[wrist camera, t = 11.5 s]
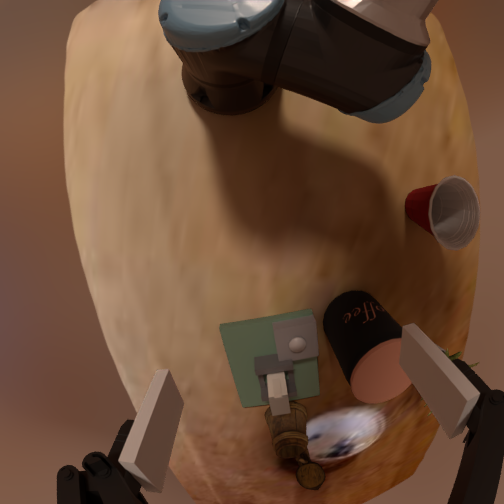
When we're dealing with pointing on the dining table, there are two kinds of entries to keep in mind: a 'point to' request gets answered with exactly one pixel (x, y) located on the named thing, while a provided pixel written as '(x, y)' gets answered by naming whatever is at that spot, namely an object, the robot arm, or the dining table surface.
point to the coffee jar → (366, 346)
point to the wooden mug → (295, 444)
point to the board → (273, 355)
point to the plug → (278, 393)
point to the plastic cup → (446, 211)
